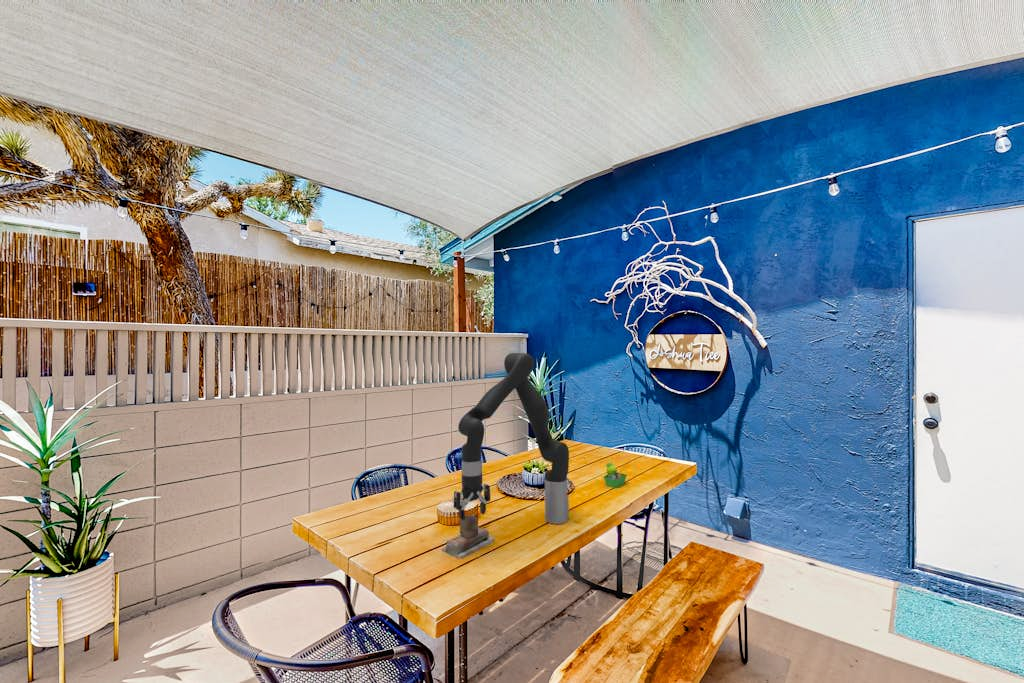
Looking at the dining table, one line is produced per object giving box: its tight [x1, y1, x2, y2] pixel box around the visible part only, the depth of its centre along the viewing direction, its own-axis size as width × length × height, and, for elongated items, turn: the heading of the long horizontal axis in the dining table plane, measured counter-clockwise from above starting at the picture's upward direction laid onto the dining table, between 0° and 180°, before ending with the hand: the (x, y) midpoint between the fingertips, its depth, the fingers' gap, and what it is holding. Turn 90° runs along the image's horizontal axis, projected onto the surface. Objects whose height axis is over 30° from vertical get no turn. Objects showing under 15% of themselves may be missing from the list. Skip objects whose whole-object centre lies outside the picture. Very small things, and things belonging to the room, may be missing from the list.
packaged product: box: [441, 527, 496, 560], centre depth 159 cm, size 18×5×10 cm
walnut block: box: [459, 514, 479, 539], centre depth 158 cm, size 5×5×6 cm
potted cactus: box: [603, 462, 628, 489], centre depth 226 cm, size 11×9×11 cm
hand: (472, 516), depth 157 cm, fingers open, 8 cm apart
